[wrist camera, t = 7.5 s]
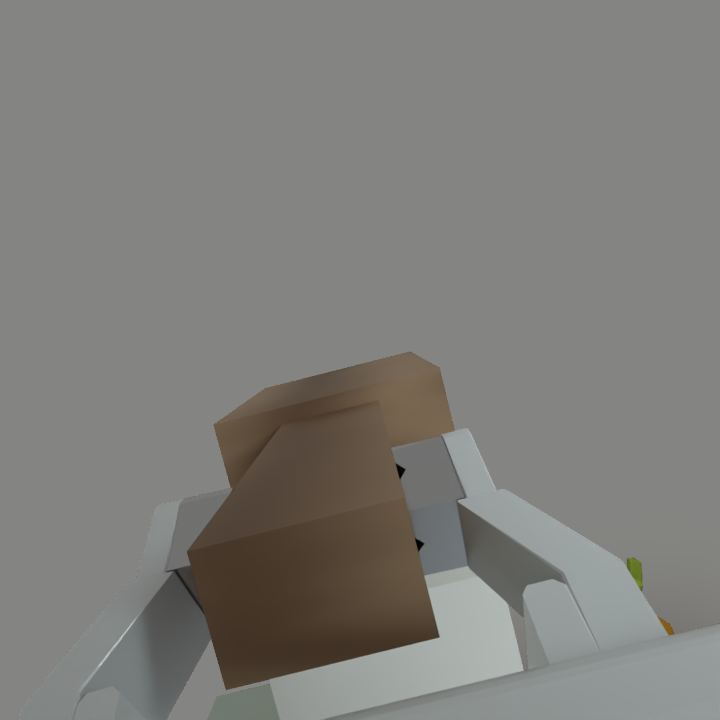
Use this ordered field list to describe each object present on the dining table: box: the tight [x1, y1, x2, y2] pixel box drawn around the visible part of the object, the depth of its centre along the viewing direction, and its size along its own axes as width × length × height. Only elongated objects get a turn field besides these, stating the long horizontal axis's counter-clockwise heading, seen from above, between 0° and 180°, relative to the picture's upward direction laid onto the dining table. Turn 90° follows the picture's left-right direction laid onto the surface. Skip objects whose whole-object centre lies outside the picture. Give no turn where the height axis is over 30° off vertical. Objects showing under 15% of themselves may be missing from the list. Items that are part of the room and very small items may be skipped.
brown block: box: [187, 352, 455, 690], centre depth 16 cm, size 7×18×2 cm, turn 0°
